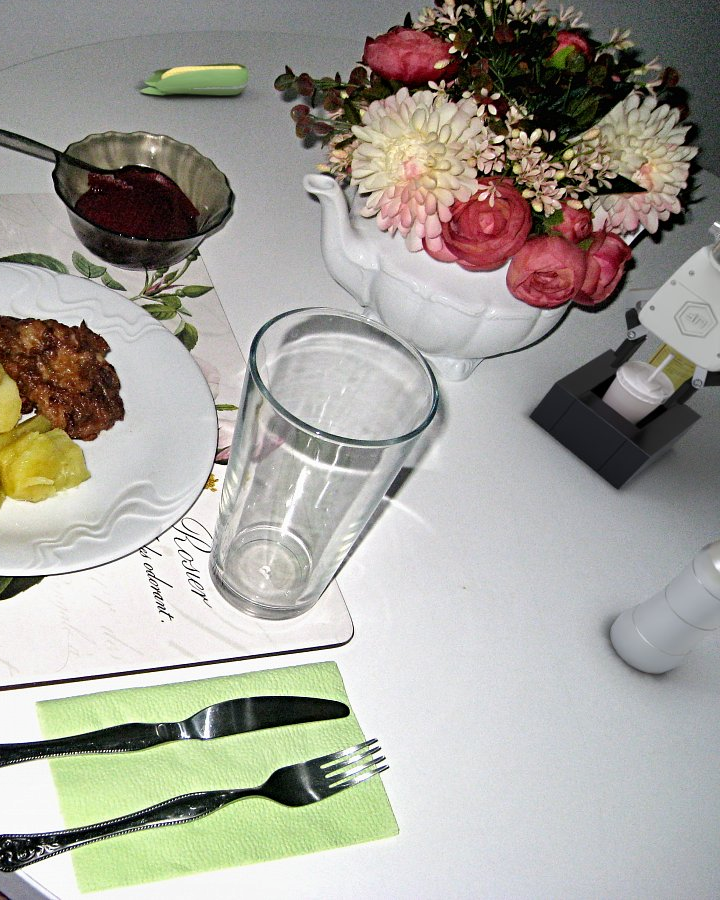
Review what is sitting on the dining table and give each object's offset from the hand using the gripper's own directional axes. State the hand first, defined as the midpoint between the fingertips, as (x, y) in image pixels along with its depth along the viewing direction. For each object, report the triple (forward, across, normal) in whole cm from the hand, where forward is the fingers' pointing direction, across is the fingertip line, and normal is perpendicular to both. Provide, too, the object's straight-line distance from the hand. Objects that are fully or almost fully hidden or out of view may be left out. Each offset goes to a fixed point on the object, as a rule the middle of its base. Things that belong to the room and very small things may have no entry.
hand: (644, 382), depth 103 cm
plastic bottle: (+10, +19, -24) cm, 32 cm away
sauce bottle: (+10, 0, +13) cm, 16 cm away
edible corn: (+10, -84, +5) cm, 85 cm away
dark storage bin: (+10, 0, 0) cm, 10 cm away
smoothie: (+9, 0, 0) cm, 9 cm away
